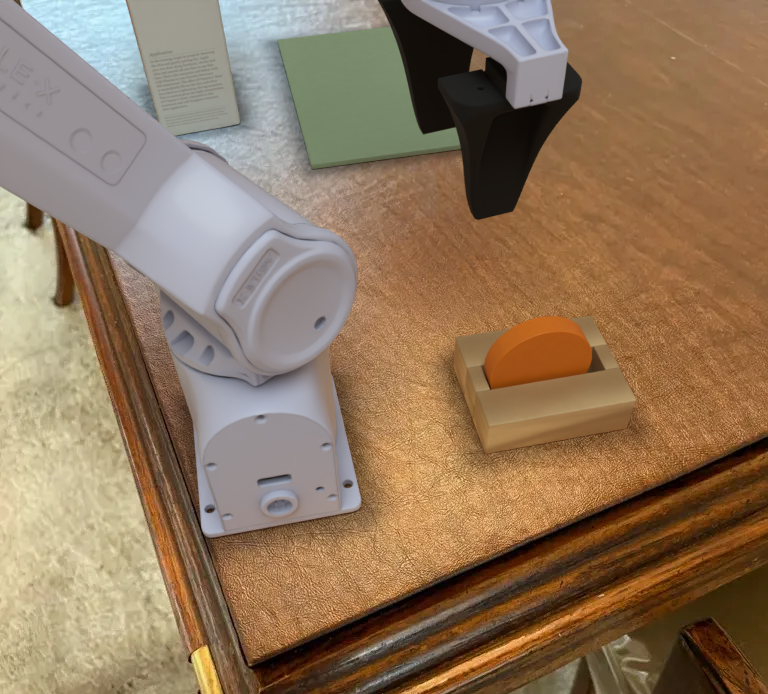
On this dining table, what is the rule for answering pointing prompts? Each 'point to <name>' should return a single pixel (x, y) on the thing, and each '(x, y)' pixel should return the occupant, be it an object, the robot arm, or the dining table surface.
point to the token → (538, 352)
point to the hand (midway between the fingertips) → (464, 167)
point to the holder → (543, 396)
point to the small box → (185, 63)
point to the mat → (355, 99)
